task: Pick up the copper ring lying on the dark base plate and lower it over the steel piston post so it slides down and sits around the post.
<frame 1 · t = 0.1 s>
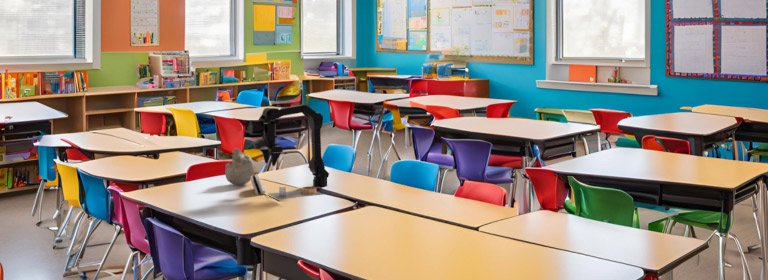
hand: (270, 164, 358), 15 cm above the table, tool pointing down, fingers open, 9 cm apart
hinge: (258, 192, 363), on the table
ring: (308, 192, 356), point 1 cm above the table, touching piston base
grey lumpy stone: (240, 185, 379), on the table
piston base: (295, 196, 353), on the table
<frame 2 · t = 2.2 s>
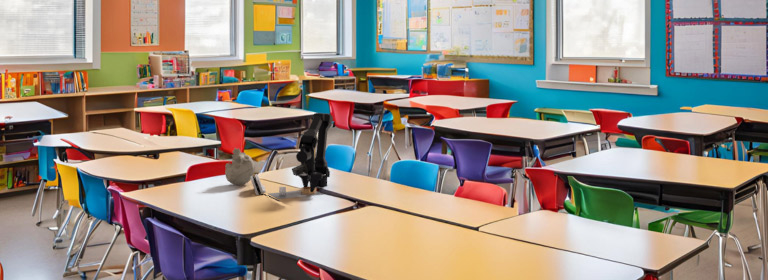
hand: (308, 190, 356), 2 cm above the table, tool pointing down, fingers closed on ring, 7 cm apart
ring: (308, 192, 356), point 1 cm above the table, touching gripper, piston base
everything else where it was.
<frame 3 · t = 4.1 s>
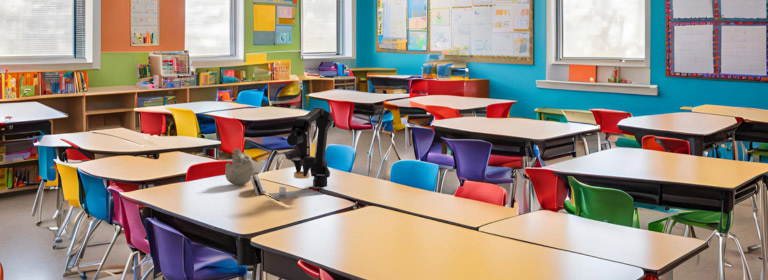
hand: (301, 175, 353), 10 cm above the table, tool pointing down, fingers closed on ring, 7 cm apart
ring: (301, 177, 353), point 9 cm above the table, touching gripper
everything else where it was.
when the fingers open (5 cm above the table, at t = 6.1 s): ring drops 3 cm, resting on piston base.
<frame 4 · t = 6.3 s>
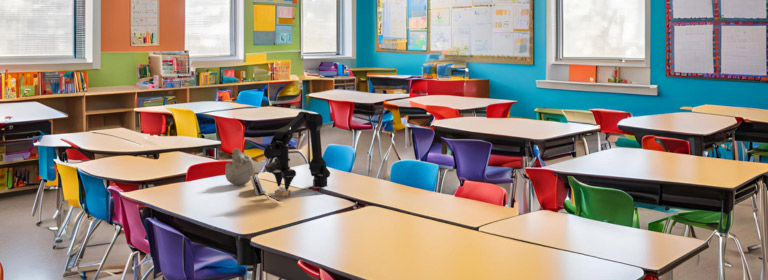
hand: (282, 188, 349), 5 cm above the table, tool pointing down, fingers open, 9 cm apart
ring: (282, 195, 349), point 1 cm above the table, touching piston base
everything else where it was.
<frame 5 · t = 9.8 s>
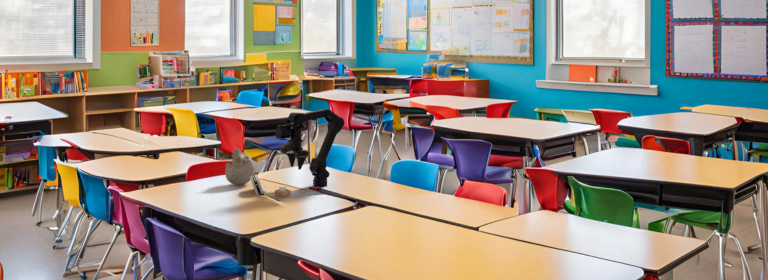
hand: (295, 168, 363), 12 cm above the table, tool pointing down, fingers open, 9 cm apart
nothing on the table moved.
at the end: ring 0.0 cm from the target spot on the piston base, point 1.2 cm above the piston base's base; ring tilted 0°; the gripper is holding nothing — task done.
